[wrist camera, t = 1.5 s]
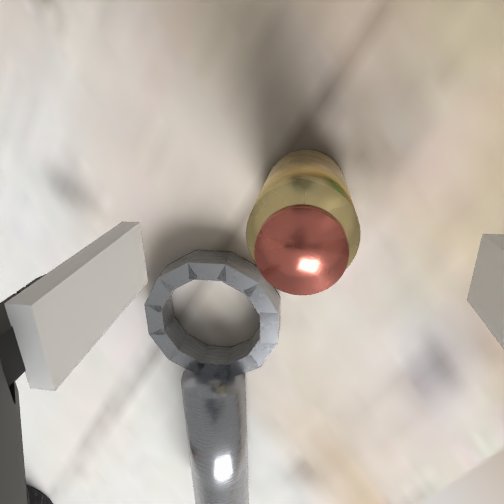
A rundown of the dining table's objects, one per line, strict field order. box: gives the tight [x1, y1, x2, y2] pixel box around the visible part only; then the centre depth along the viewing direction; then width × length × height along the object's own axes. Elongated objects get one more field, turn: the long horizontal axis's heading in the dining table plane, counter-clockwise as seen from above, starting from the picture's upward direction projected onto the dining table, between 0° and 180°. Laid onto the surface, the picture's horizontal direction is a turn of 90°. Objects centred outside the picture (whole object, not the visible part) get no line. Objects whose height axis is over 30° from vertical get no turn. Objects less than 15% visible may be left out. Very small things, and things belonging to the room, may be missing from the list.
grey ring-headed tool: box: [145, 250, 280, 504], centre depth 29 cm, size 24×9×5 cm, turn 1°
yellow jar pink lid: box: [246, 150, 360, 295], centre depth 19 cm, size 5×5×10 cm
